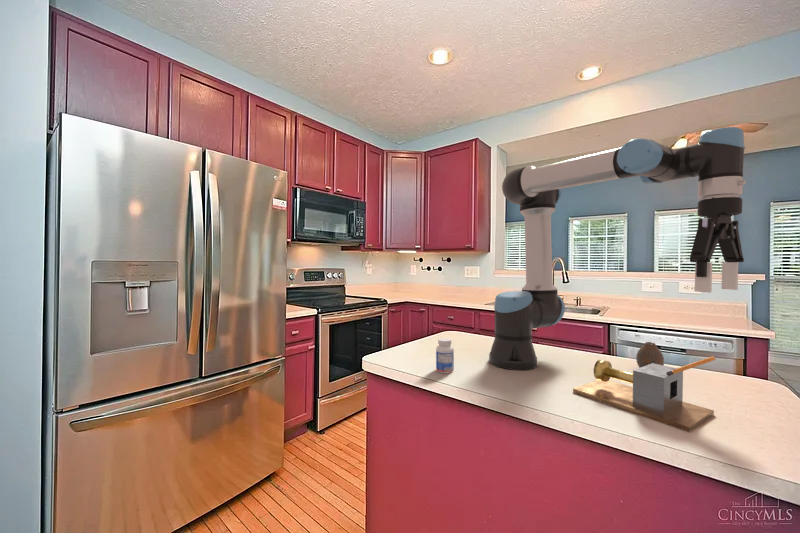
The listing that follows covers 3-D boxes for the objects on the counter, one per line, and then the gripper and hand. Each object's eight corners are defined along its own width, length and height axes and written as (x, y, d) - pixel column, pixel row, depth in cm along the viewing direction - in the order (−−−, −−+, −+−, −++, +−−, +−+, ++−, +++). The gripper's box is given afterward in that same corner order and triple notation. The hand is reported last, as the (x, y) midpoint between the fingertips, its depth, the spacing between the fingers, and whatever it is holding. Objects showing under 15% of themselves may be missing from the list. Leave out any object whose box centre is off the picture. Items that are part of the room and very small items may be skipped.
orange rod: (673, 374, 74) (671, 370, 75) (681, 370, 77) (679, 367, 77) (711, 361, 69) (709, 358, 69) (719, 357, 71) (716, 354, 72)
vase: (639, 373, 103) (640, 344, 103) (633, 366, 110) (634, 339, 109) (667, 376, 101) (668, 346, 100) (659, 369, 107) (660, 341, 107)
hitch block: (573, 392, 88) (573, 354, 88) (601, 381, 96) (602, 346, 96) (688, 432, 68) (689, 382, 68) (713, 414, 76) (714, 370, 75)
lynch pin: (593, 381, 88) (593, 361, 88) (604, 377, 91) (604, 358, 91) (647, 397, 78) (647, 374, 78) (657, 392, 81) (657, 370, 81)
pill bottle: (439, 367, 109) (440, 336, 109) (456, 369, 107) (456, 338, 107) (433, 372, 104) (433, 340, 104) (450, 374, 102) (450, 342, 102)
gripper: (715, 190, 70) (712, 294, 70) (763, 200, 81) (760, 289, 82) (672, 196, 76) (670, 291, 77) (722, 204, 88) (719, 287, 88)
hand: (716, 290), depth 79 cm, fingers open, 13 cm apart
